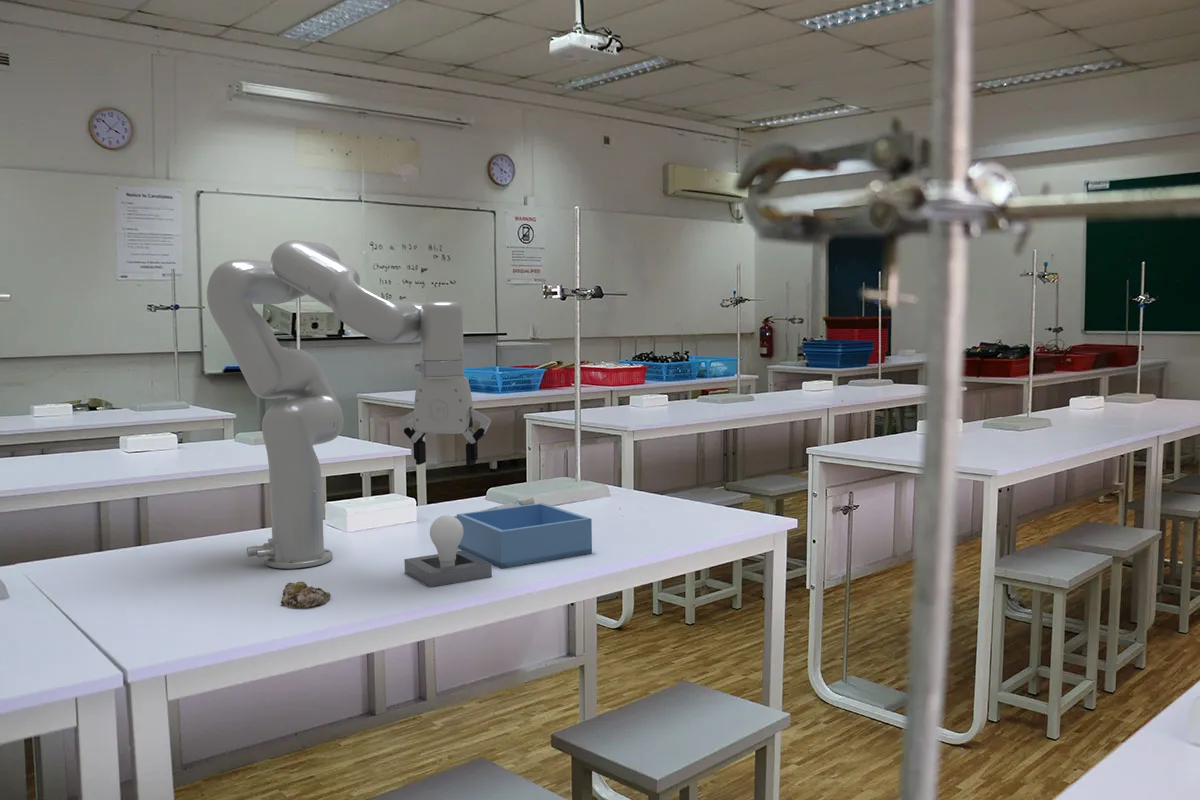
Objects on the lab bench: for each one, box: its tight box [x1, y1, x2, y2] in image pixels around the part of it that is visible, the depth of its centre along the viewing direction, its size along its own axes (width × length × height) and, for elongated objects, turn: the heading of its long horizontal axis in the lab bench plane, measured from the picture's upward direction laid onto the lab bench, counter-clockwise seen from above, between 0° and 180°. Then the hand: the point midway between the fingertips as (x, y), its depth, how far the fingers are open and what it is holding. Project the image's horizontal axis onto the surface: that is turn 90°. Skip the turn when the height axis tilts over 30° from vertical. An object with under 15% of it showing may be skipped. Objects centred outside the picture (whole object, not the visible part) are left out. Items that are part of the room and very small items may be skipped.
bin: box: [456, 502, 593, 569], centre depth 192 cm, size 20×20×7 cm
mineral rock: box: [280, 581, 332, 609], centre depth 160 cm, size 11×4×8 cm
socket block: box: [404, 549, 493, 588], centre depth 175 cm, size 12×12×2 cm
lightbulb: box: [429, 514, 464, 568], centre depth 175 cm, size 6×6×11 cm
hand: (445, 464), depth 174 cm, fingers open, 9 cm apart
